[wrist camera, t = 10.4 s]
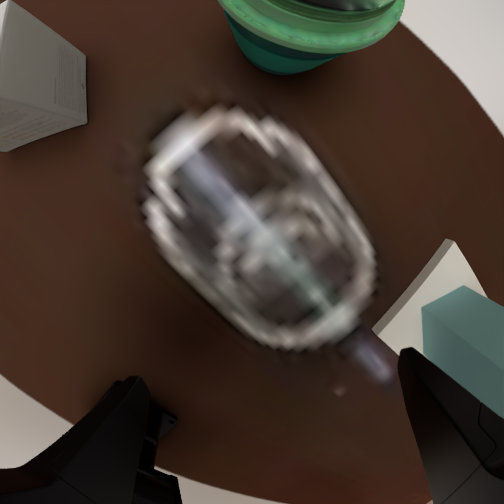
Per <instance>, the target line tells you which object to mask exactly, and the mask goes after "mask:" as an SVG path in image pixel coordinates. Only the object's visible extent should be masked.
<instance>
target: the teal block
mask: <svg viewBox="0 0 504 504" xmlns="http://www.w3.org/2000/svg"><path fill="white" fill-rule="evenodd" d="M421 313H422V332H423V354H424V355H425V356H426V357H427V358H428V359H429V360H430V361H431V362H433V363H434V364H435V365H436V366H438V367H439V368H440V369H441V370H443V371H444V372H445V373H446V374H448V375H449V376H450V377H451V378H453V379H454V380H455V381H456V382H458V383H459V384H460V385H461V386H463V387H464V388H465V389H466V390H468V391H469V392H470V393H471V394H473V395H474V396H475V397H476V398H478V399H479V400H480V403H481V402H483V403H484V404H485V405H486V406H487V407H489V408H490V409H491V410H493V411H494V412H495V413H496V414H498V415H499V416H501V417H502V418H504V307H502V306H500V305H499V304H497V303H495V302H493V301H492V300H490V299H488V298H486V297H484V296H483V295H481V294H479V293H477V292H475V291H473V290H472V289H470V288H468V287H466V286H464V285H462V286H461V287H459V288H457V289H455V290H453V291H452V292H450V293H448V294H446V295H444V296H442V297H440V298H438V299H437V300H435V301H433V302H431V303H429V304H427V305H425V306H423V307H421Z"/></svg>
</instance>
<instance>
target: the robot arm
mask: <svg viewBox="0 0 504 504" xmlns="http://www.w3.org/2000/svg"><path fill="white" fill-rule="evenodd" d="M398 374H399V378H400V383H401V387H402V392H403V396H404V401H405V406H406V410H407V414H408V417H409V420H410V423H411V426H412V429H413V432H414V435H415V439H416V442H417V445H418V448H419V452H420V455H421V459H422V462H423V465H424V469H425V473H426V476H427V480H428V484H429V488H430V492H431V496H432V500H433V504H504V418H502V417H501V416H499V415H498V414H496V413H495V412H494V411H493V410H491V409H490V408H489V407H487V406H486V405H485V404H484V403H483V402H481V403H480V400H479V399H478V398H476V397H475V396H474V395H473V394H471V393H470V392H469V391H468V390H466V389H465V388H464V387H463V386H461V385H460V384H459V383H458V382H456V381H455V380H454V379H453V378H451V377H450V376H449V375H448V374H446V373H445V372H444V371H443V370H441V369H440V368H439V367H438V366H436V365H435V364H434V363H433V362H431V361H430V360H429V359H428V358H426V357H425V356H424V355H422V354H421V353H420V352H419V351H417V350H416V349H415V348H413V347H408V348H403V349H401V351H400V355H399V361H398ZM117 386H118V387H117ZM149 400H150V392H149V389H148V387H147V386H146V384H145V383H144V381H143V379H142V378H141V377H140V376H129V377H128V378H127V379H126V380H124V381H123V382H122V383H121V382H118V381H116V382H114V383H113V385H112V386H111V387H110V388H109V389H108V391H107V392H106V393H105V394H104V396H103V397H102V398H101V399H100V401H99V402H98V403H97V404H96V406H95V407H94V408H93V409H92V410H91V411H90V412H89V413H88V414H86V415H85V416H84V417H83V418H82V419H81V420H80V421H79V422H77V423H76V424H75V425H74V426H73V427H72V428H71V429H70V430H69V431H68V432H66V433H65V434H64V435H62V437H60V438H59V439H58V440H57V441H56V442H54V443H53V444H52V445H51V446H49V447H48V448H47V449H45V450H44V451H43V452H41V453H40V454H39V455H37V456H36V457H34V458H33V459H31V460H30V461H29V462H27V463H26V464H24V465H22V466H20V467H17V468H8V469H0V504H182V500H181V494H180V489H179V484H178V479H177V477H175V476H173V475H168V474H165V473H162V472H160V471H158V470H155V469H154V466H155V459H156V453H157V448H158V442H159V439H160V438H161V437H162V436H163V435H165V434H166V433H167V432H168V431H169V430H170V429H172V428H173V427H174V426H175V425H176V424H177V417H176V416H174V415H172V414H171V413H169V412H167V411H165V410H164V409H162V408H160V407H159V406H157V405H155V404H154V403H152V402H150V401H149ZM171 420H173V421H171Z"/></svg>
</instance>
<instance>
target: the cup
mask: <svg viewBox="0 0 504 504" xmlns="http://www.w3.org/2000/svg"><path fill="white" fill-rule="evenodd" d="M218 2H219V3H220V5H221V6H222V7H223V9H224V12H225V15H226V17H227V20H228V22H229V25H230V27H231V30H232V32H233V35H234V37H235V40H236V42H237V44H238V46H239V47H240V49H241V50H242V52H243V54H244V55H245V57H246V58H247V59H248V60H249V61H250V62H251V63H252V64H253V65H255V66H256V67H257V68H259V69H261V70H263V71H265V72H268V73H271V74H276V75H292V74H297V73H300V72H303V71H307V70H310V69H313V68H315V67H317V66H319V65H321V64H323V63H325V62H327V61H329V60H332V59H334V58H336V57H338V56H340V55H342V54H345V53H346V52H351V51H356V50H359V49H363V48H365V47H368V46H370V45H372V44H374V43H376V42H377V41H379V40H381V39H382V38H383V37H384V36H386V35H387V34H388V33H389V32H390V31H391V30H392V29H393V27H394V26H395V25H396V24H397V22H398V21H399V19H400V16H401V14H402V12H403V9H404V3H405V0H218Z"/></svg>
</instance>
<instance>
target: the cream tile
mask: <svg viewBox="0 0 504 504" xmlns="http://www.w3.org/2000/svg"><path fill="white" fill-rule="evenodd" d="M462 285H464V286H466V287H468V288H470V289H472V290H473V291H475V292H477V293H479V294H481V295H483V296H484V297H486V298H487V296H486V294H485V292H484V291H483V289H482V287H481V285H480V283H479V282H478V280H477V278H476V276H475V274H474V273H473V271H472V269H471V268H470V266H469V264H468V262H467V261H466V259H465V258H464V256H463V254H462V253H461V251H460V249H459V248H458V246H457V245H456V243H455V242H454V241H451V240H449V239H445V240H444V242H443V243H442V245H441V246H440V247H439V249H438V250H437V251H436V253H435V254H434V255H433V257H432V258H431V259H430V260H429V262H428V263H427V264H426V266H425V267H424V268H423V269H422V271H421V272H420V273H419V274H418V276H417V277H416V278H415V279H414V281H413V282H412V283H411V284H410V285H409V287H408V288H407V289H406V290H405V291H404V293H403V294H402V295H401V296H400V297H399V298H398V300H397V301H396V302H395V303H394V304H393V305H392V307H391V308H390V309H389V310H388V311H387V312H386V313H385V314H384V316H383V317H382V318H381V319H380V320H379V321H378V322H377V323H376V324H375V325H374V326H373V328H372V329H371V330H372V331H373V332H374V333H375V334H376V335H377V336H378V337H379V338H380V339H381V340H382V341H384V342H385V343H386V344H387V345H388V346H389V347H390V348H391V349H392V350H393V351H395V352H396V353H397V354H398V355H400V351H401V349H403V348H408V347H413V348H415V349H416V350H417V351H419V352H420V353H421V354H422V355H424V354H423V332H422V313H421V307H423V306H425V305H427V304H429V303H431V302H433V301H435V300H437V299H438V298H440V297H442V296H444V295H446V294H448V293H450V292H452V291H453V290H455V289H457V288H459V287H461V286H462ZM424 356H425V355H424ZM425 357H426V356H425ZM426 358H427V357H426Z"/></svg>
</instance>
